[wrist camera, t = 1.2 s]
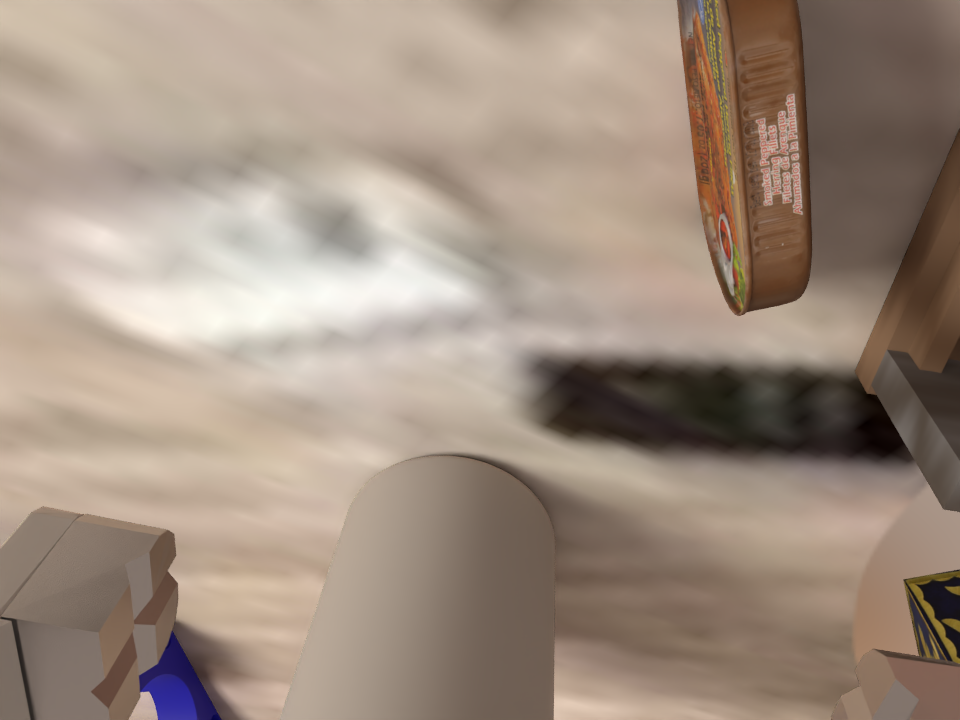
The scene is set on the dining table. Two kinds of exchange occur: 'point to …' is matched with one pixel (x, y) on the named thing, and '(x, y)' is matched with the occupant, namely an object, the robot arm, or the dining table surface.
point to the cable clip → (177, 687)
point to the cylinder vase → (434, 602)
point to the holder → (925, 341)
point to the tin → (750, 145)
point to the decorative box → (936, 614)
